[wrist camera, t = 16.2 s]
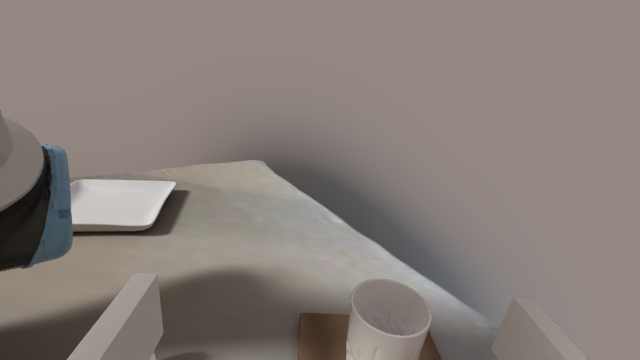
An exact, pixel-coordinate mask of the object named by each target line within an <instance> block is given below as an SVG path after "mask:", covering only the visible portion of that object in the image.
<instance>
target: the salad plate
mask: <svg viewBox="0 0 640 360" xmlns="http://www.w3.org/2000/svg"><path fill="white" fill-rule="evenodd" d="M176 185H177V183H176V182H169V181H137V180H77V181H75V182H73V183H72V184H70V191H71V213H72V226H73V232H98V231H141V230H145V229H148V228H150V227H151V226H152V225H153V224H154V222H155V220H156V219H157V217H158V215H159V212H160V210H161V208H162V206H163V204H164V202H165V201H166V199H167V198H168V196H169V195H170V193H171V192H172V191H173V190H174V188H175V187H176Z"/></svg>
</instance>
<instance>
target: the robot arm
mask: <svg viewBox="0 0 640 360" xmlns="http://www.w3.org/2000/svg"><path fill="white" fill-rule="evenodd" d="M72 242H73V226H72V213H71V191H70V179H69V169H68V161H67V154H66V152H65V150H63V149H62V148H60V147H51V146H48V145H40V144H39V142H38V141H37V139H36V137H35V136H34V135H33V134H32V133H31V132H30V131H28V130H27V129H26V128H24V127H23V126H21V125H20V124H18V123H17V122H14V121H12V120H10V119H8V118H5V117H3V115H2V113H1V111H0V272H1V271H6V270H10V269H15V268H29V267H32V266H33V265H34V264H37V263H41V262H45V261H49V260H53V259H57V258H60V257H62V256H63V255H65V254H66V253H67V252H68V251H69V250H70V248H71V246H72ZM163 333H164V332H163V322H162V313H161V303H160V293H159V284H158V274H144V273H134V275H133V276H132V277H131V278H130V280H129V281H128V282H127V283H126V285H125V286H124V287H123V289H122V290H121V291H120V292H119V294H118V295H117V296H116V297H115V299H114V300H113V301H112V303H111V304H110V305H109V306H108V308H107V309H106V310H105V311H104V313H103V314H102V315H101V317H100V318H99V319H98V320H97V322H96V323H95V324H94V325H93V327H92V328H91V329H90V331H89V332H88V333H87V334H86V336H85V337H84V338H83V339H82V341H81V342H80V343H79V345H78V346H77V347H76V348H75V350H74V351H73V352H72V353H71V355H70V356H69V357H68V359H67V360H150V358H151V356H152V354H153V352H154V350H155V348H156V347H157V345H158V343H159V341H160V339H161V337H162V335H163ZM491 350H492V352H493V353H494V355H495V357H496V358H497V360H589V359H588V358H587V357H586V356H585V355H584V354H583V353H582V352H581V351H580V349H579V348H578V347H577V346H576V345H575V344H574V343H573V342H572V341H571V340H570V339H569V337H568V336H566V334H565V333H564V332H563V331H562V330H561V329H560V328H559V327H558V325H557V324H556V323H555V322H554V321H553V320H552V319H551V318H550V317H549V316H548V315H547V313H546V312H545V311H544V310H543V309H542V308H541V307H540V306H539V305H538V304H537V303H536V301H535V300H534V299H533V298H524V297H513V299H512V301H511V304H510V306H509V308H508V311H507V313H506V315H505V318H504V320H503V322H502V324H501V326H500V329H499V331H498V333H497V336H496V338H495V340H494V343H493V345H492V347H491Z"/></svg>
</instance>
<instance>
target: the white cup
mask: <svg viewBox="0 0 640 360" xmlns="http://www.w3.org/2000/svg"><path fill="white" fill-rule="evenodd" d="M431 321H432V314H431V310H430V308H429V306H428V304H427V302H426V301H425V300H424V298H423V297H422V296H421V295H420V294H418V293H417V292H416V291H415V290H413V289H412V288H410V287H408V286H406V285H404V284H402V283H399V282H396V281H393V280H388V279H371V280H367V281H364V282H362V283H360V284H359V285H357V286H356V287H355V289H354V290H353V292H352V295H351V303H350V312H349V321H348V331H347V341H346V360H418V358H419V356H420V353H421V350H422V347H423V344H424V341H425V339H426V336H427V333H428V330H429V327H430V325H431Z"/></svg>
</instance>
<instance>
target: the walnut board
mask: <svg viewBox="0 0 640 360" xmlns="http://www.w3.org/2000/svg"><path fill="white" fill-rule="evenodd" d="M348 321H349V315H332V314H315V313H301V314H300V331H299V352H298V360H346V341H347V331H348ZM418 360H441V358H440V356H439V354H438V351H437V349H436V347H435V344H434V342H433V340H432V337H431V335H430V333H429V330H428V333H427V336H426V339H425V341H424V344H423V347H422V350H421V353H420V356H419V358H418Z"/></svg>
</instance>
